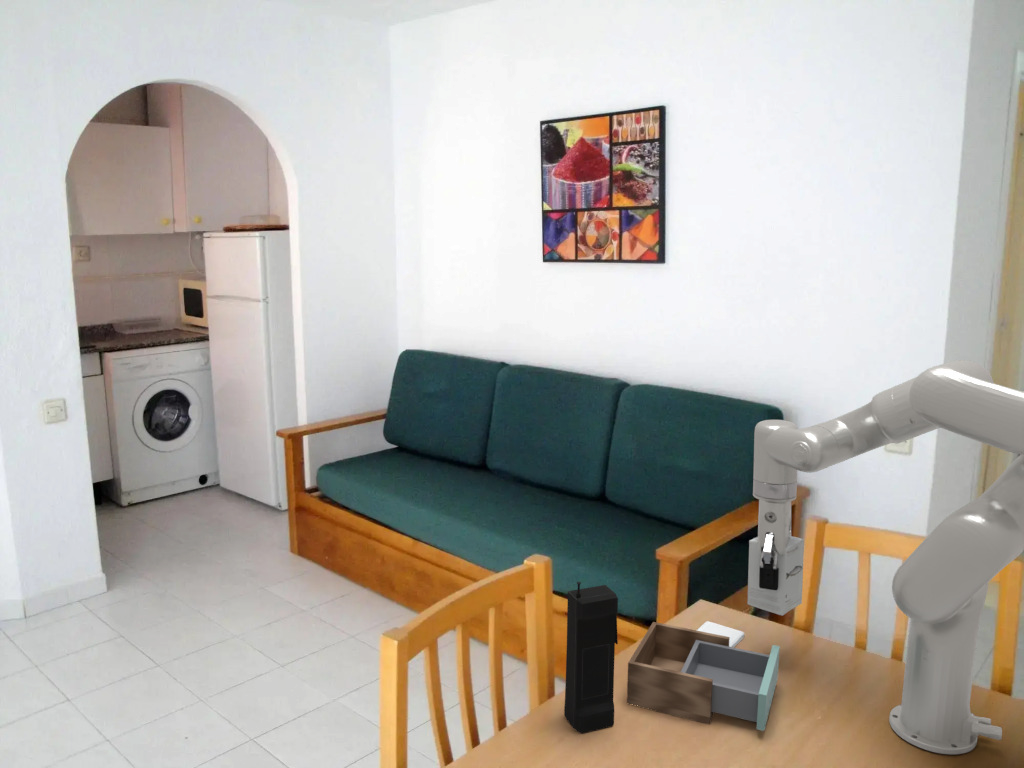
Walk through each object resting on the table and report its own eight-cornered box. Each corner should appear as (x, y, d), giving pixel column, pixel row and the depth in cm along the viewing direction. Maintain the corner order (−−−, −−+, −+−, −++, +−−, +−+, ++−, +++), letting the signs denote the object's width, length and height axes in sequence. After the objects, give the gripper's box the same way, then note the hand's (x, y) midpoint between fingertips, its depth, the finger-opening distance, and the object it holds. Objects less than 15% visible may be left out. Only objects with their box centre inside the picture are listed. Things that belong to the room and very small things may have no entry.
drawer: (777, 678, 144) (779, 646, 143) (764, 731, 129) (766, 695, 128) (696, 661, 150) (698, 629, 149) (674, 709, 135) (676, 674, 134)
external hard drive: (744, 639, 162) (718, 665, 153) (705, 627, 167) (678, 652, 157) (744, 632, 162) (719, 657, 152) (706, 620, 167) (679, 644, 157)
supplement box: (783, 617, 145) (785, 549, 143) (746, 605, 151) (747, 539, 149) (803, 604, 150) (805, 538, 148) (766, 593, 156) (768, 529, 154)
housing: (727, 675, 148) (729, 637, 146) (709, 724, 133) (711, 681, 132) (651, 659, 154) (653, 621, 152) (626, 703, 139) (628, 662, 138)
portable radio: (604, 705, 139) (607, 566, 134) (621, 724, 133) (625, 581, 129) (561, 714, 136) (564, 573, 131) (577, 735, 130) (580, 588, 126)
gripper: (791, 504, 138) (788, 600, 141) (801, 478, 154) (798, 565, 156) (745, 499, 141) (743, 593, 144) (760, 474, 157) (757, 559, 159)
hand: (771, 578), depth 150 cm, fingers closed on supplement box, 9 cm apart
